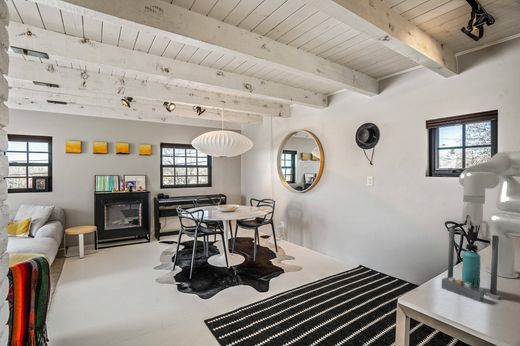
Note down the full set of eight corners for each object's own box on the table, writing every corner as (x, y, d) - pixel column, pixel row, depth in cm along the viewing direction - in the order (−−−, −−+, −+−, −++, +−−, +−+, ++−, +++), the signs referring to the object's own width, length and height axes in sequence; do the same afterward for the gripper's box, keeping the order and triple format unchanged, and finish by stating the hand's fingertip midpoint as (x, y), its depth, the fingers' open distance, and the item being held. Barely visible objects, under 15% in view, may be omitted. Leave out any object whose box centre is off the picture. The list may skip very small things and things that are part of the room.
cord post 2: (488, 293, 114) (491, 234, 113) (500, 297, 110) (503, 236, 110) (485, 295, 111) (487, 235, 111) (497, 299, 108) (500, 237, 107)
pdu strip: (445, 285, 120) (446, 274, 120) (483, 299, 108) (484, 287, 108) (441, 287, 118) (441, 276, 118) (479, 301, 106) (480, 289, 106)
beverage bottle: (472, 292, 114) (474, 247, 113) (457, 286, 120) (459, 243, 119) (483, 291, 115) (485, 246, 115) (468, 284, 122) (469, 242, 121)
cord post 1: (447, 279, 127) (449, 226, 127) (456, 282, 124) (458, 228, 123) (443, 281, 125) (445, 227, 124) (453, 284, 122) (455, 229, 121)
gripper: (470, 198, 124) (469, 236, 124) (456, 199, 116) (455, 240, 116) (490, 199, 117) (489, 240, 118) (477, 201, 110) (475, 244, 110)
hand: (472, 240), depth 117 cm, fingers closed
